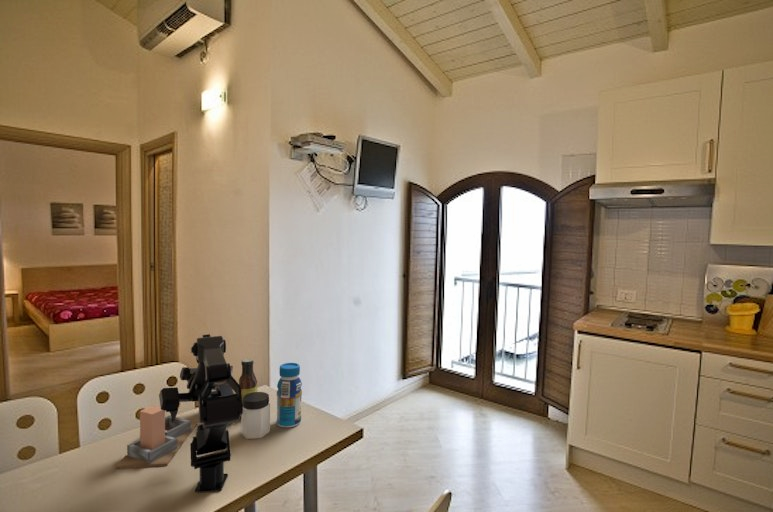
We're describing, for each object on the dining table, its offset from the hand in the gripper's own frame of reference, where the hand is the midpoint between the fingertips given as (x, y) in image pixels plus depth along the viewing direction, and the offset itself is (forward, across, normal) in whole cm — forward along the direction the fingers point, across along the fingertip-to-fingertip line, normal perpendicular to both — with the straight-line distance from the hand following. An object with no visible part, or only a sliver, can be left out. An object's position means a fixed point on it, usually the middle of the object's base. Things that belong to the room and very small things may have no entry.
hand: (189, 419), depth 111 cm
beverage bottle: (+6, -34, 0) cm, 34 cm away
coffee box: (+18, -17, -19) cm, 32 cm away
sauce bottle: (+14, -25, -12) cm, 31 cm away
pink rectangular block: (+15, +6, -3) cm, 16 cm away
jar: (+8, -22, +1) cm, 24 cm away
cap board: (+17, +3, -7) cm, 18 cm away
